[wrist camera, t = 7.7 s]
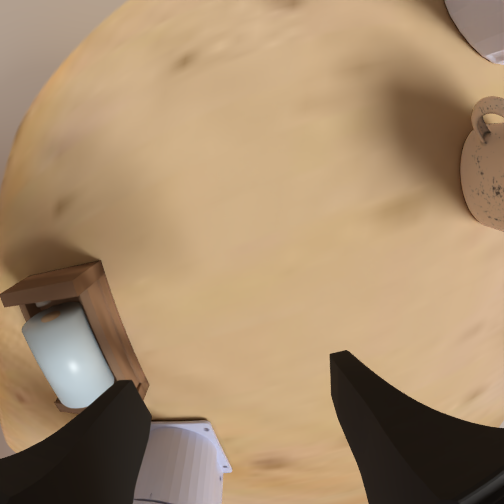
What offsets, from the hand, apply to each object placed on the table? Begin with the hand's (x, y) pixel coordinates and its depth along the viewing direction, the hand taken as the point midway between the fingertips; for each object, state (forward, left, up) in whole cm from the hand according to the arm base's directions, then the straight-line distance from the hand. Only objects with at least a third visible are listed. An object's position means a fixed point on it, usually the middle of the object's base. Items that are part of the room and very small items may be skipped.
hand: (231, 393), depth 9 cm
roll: (-2, +13, -9) cm, 16 cm away
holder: (-2, +13, -10) cm, 16 cm away
